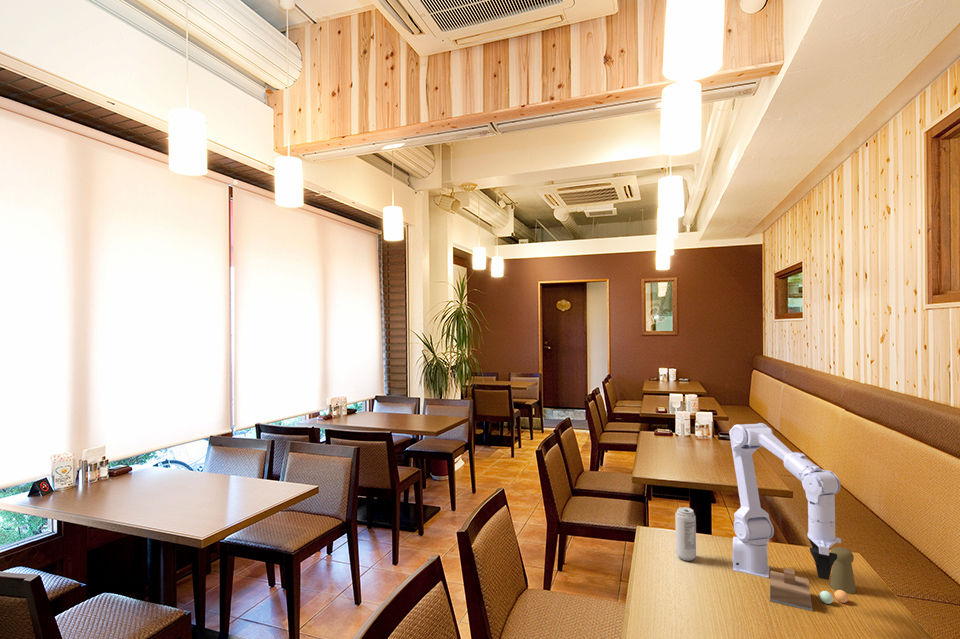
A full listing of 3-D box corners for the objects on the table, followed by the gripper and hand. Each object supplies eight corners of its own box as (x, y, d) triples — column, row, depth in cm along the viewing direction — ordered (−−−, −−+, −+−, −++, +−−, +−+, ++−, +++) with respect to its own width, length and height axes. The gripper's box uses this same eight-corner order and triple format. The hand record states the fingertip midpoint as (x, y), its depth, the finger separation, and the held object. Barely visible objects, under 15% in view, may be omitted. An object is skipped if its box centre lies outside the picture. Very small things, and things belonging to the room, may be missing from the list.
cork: (861, 595, 135) (860, 554, 135) (836, 592, 136) (835, 552, 136) (849, 583, 141) (848, 545, 141) (825, 581, 142) (824, 543, 142)
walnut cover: (810, 608, 128) (810, 582, 128) (770, 598, 132) (770, 573, 132) (808, 592, 135) (808, 567, 135) (770, 583, 140) (770, 560, 140)
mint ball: (820, 604, 131) (819, 592, 131) (819, 598, 133) (818, 587, 133) (833, 607, 129) (833, 595, 129) (832, 601, 132) (832, 590, 132)
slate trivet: (769, 601, 132) (769, 599, 132) (770, 584, 140) (770, 583, 140) (812, 611, 127) (812, 609, 127) (810, 594, 135) (810, 592, 135)
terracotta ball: (835, 603, 131) (834, 591, 131) (833, 597, 134) (833, 586, 134) (849, 606, 129) (849, 594, 129) (847, 600, 132) (847, 589, 132)
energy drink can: (687, 551, 161) (687, 505, 161) (700, 559, 155) (699, 512, 156) (671, 553, 160) (671, 507, 160) (684, 562, 154) (683, 514, 154)
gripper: (844, 532, 119) (844, 589, 119) (837, 512, 131) (838, 563, 131) (808, 526, 122) (809, 581, 122) (805, 507, 135) (806, 557, 135)
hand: (822, 571), depth 127 cm, fingers open, 7 cm apart
